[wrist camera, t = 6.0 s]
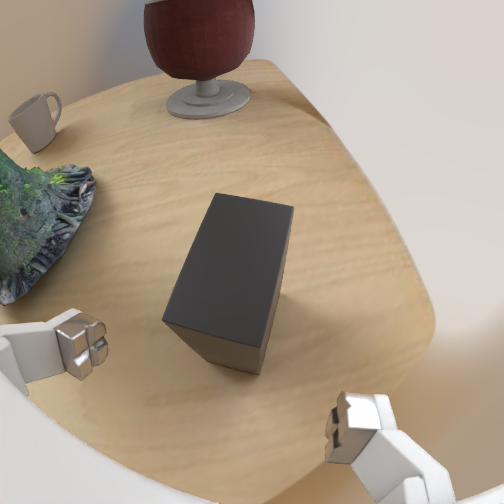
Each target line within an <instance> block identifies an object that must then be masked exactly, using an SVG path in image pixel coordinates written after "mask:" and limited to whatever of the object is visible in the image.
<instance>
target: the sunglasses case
mask: <svg viewBox="0 0 504 504" xmlns="http://www.w3.org/2000/svg"><path fill="white" fill-rule="evenodd" d="M293 212H294V207H293V206H289V205H283V204H278V203H273V202H267V201H262V200H256V199H251V198H245V197H239V196H233V195H227V194H220V193H215V195H214V197H213V199H212V202H211V204H210V206H209V208H208V210H207V212H206V215H205V217H204V219H203V221H202V223H201V226H200V228H199V230H198V232H197V235H196V237H195V239H194V242H193V244H192V246H191V248H190V251H189V253H188V255H187V258H186V260H185V263H184V265H183V267H182V270H181V272H180V275H179V277H178V280H177V282H176V284H175V287H174V289H173V292H172V294H171V297H170V299H169V302H168V305H167V307H166V310H165V312H164V315H163V318H162V321H163V322H164V323H165V324H166V325H167V326H168V327H169V328H170V329H172V330H173V331H174V332H175V333H176V334H177V335H178V336H179V337H180V338H181V339H182V340H183V341H184V342H186V343H187V344H188V345H189V346H190V347H191V348H192V349H193V350H194V351H196V352H197V353H198V354H199V355H200V356H201V357H202V358H204V359H205V360H206V361H207V362H210V363H214V364H217V365H221V366H224V367H228V368H232V369H235V370H239V371H243V372H247V373H251V374H255V375H260V371H261V367H262V363H263V359H264V356H265V352H266V348H267V344H268V340H269V336H270V332H271V328H272V324H273V320H274V316H275V311H276V307H277V303H278V299H279V294H280V289H281V284H282V278H283V273H284V267H285V261H286V255H287V249H288V243H289V237H290V231H291V224H292V218H293Z"/></svg>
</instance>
